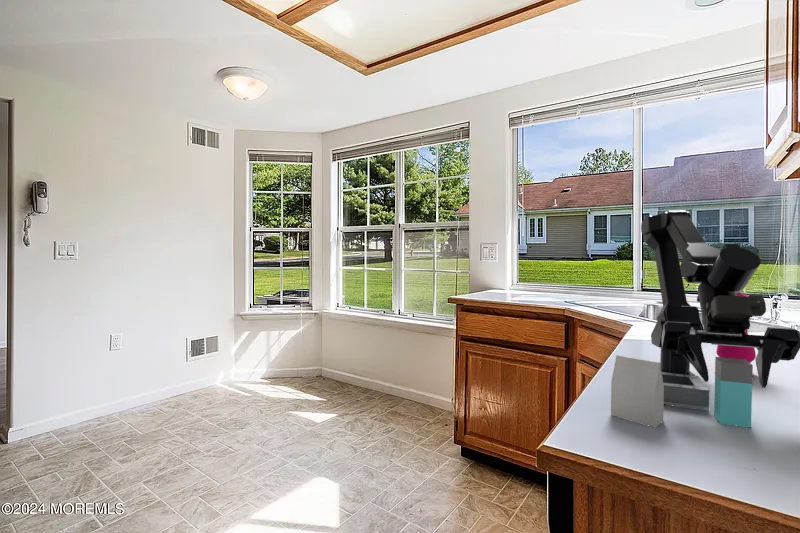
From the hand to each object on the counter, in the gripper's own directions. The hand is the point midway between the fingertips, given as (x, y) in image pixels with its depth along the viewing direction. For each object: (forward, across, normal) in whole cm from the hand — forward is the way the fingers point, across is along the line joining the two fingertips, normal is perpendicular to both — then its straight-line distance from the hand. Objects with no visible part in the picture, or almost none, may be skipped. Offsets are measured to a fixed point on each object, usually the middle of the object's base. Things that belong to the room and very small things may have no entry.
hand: (735, 383), depth 68 cm
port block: (-3, -7, +12) cm, 14 cm away
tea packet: (+8, -14, +2) cm, 16 cm away
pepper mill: (-23, +9, +32) cm, 41 cm away
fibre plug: (+4, 0, +6) cm, 7 cm away
